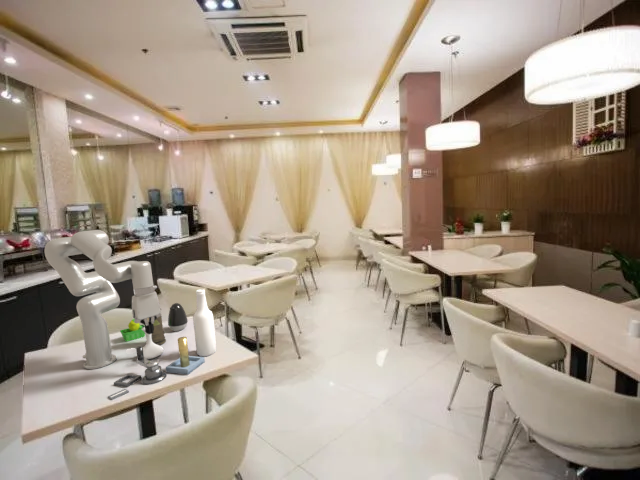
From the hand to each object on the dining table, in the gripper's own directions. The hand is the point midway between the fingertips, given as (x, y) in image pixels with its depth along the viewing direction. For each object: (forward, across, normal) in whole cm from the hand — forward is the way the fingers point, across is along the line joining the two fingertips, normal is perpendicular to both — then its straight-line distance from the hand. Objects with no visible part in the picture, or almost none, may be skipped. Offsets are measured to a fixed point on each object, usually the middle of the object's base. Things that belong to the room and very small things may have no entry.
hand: (150, 333), depth 145 cm
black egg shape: (+16, -30, -37) cm, 50 cm away
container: (+16, -13, -28) cm, 35 cm away
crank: (+12, +4, +4) cm, 13 cm away
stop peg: (+15, -8, +10) cm, 20 cm away
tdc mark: (+16, +18, +9) cm, 25 cm away
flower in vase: (+16, -5, -14) cm, 22 cm away
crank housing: (+16, +7, +5) cm, 18 cm away
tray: (+16, -9, +10) cm, 21 cm away
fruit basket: (+15, -10, -46) cm, 50 cm away
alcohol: (+16, -22, +5) cm, 28 cm away
